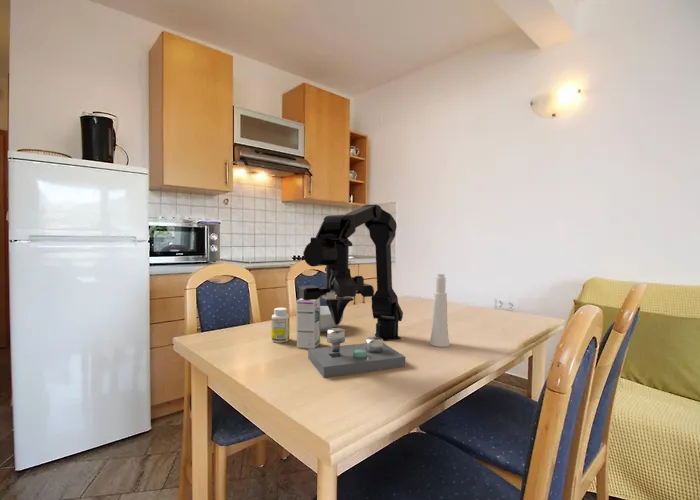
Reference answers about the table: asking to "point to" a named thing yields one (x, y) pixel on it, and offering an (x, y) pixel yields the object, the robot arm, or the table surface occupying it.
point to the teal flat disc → (360, 354)
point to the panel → (353, 360)
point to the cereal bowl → (325, 319)
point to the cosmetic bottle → (440, 315)
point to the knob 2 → (374, 344)
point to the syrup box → (308, 323)
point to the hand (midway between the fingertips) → (336, 324)
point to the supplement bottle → (280, 325)
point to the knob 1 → (336, 338)
